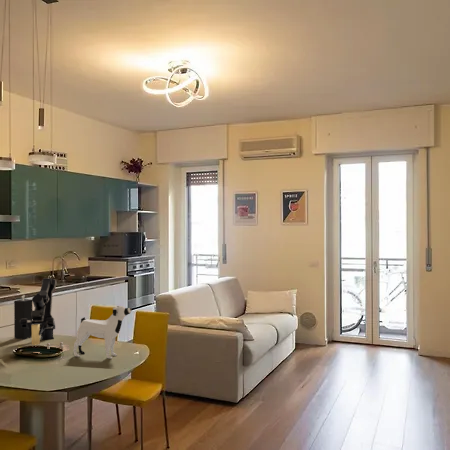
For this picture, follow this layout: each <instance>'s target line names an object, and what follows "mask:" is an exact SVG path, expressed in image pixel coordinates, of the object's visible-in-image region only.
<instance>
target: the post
mask: <svg viewBox="0 0 450 450" xmlns="http://www.w3.org/2000/svg"><path fill="white" fill-rule="evenodd" d="M39 331H40V324H32V337H31V345H32V346H36V345H40V344H41V341H40V340H41V335H39Z"/></svg>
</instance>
